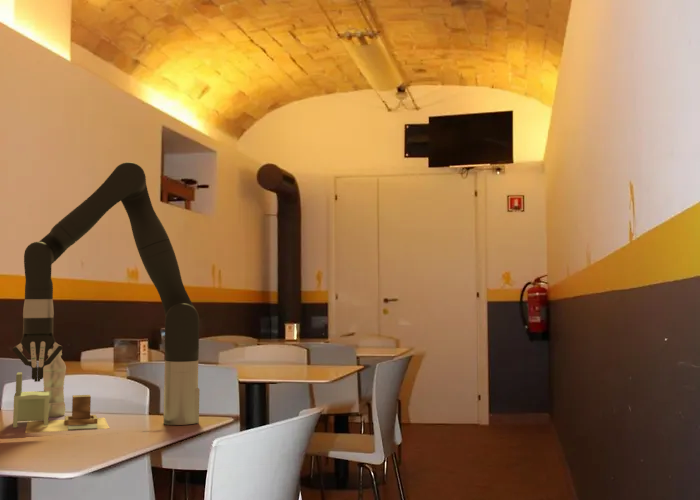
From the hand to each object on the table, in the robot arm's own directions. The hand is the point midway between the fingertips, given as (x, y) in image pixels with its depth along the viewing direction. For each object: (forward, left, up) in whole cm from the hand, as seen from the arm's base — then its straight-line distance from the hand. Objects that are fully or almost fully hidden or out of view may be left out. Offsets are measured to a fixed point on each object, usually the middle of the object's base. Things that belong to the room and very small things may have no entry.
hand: (37, 381), depth 201 cm
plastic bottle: (-4, -16, -13) cm, 21 cm away
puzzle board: (-8, +4, -12) cm, 15 cm away
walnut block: (-11, 0, -11) cm, 16 cm away
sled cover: (+1, 0, -11) cm, 11 cm away
